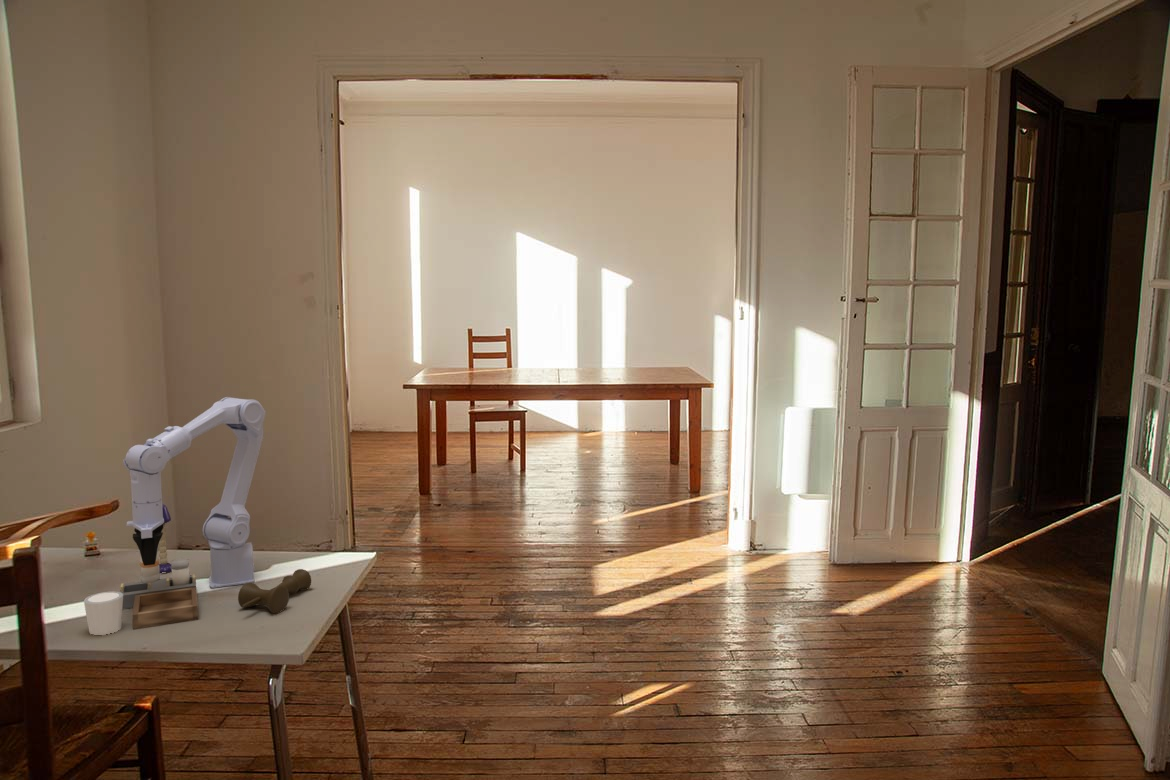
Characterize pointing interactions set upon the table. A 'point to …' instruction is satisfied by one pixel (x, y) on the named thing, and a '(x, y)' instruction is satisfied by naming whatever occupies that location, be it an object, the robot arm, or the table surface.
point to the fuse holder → (150, 589)
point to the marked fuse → (150, 571)
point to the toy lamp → (164, 544)
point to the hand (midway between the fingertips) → (149, 561)
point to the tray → (165, 607)
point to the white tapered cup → (104, 612)
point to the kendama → (274, 592)
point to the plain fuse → (180, 572)
